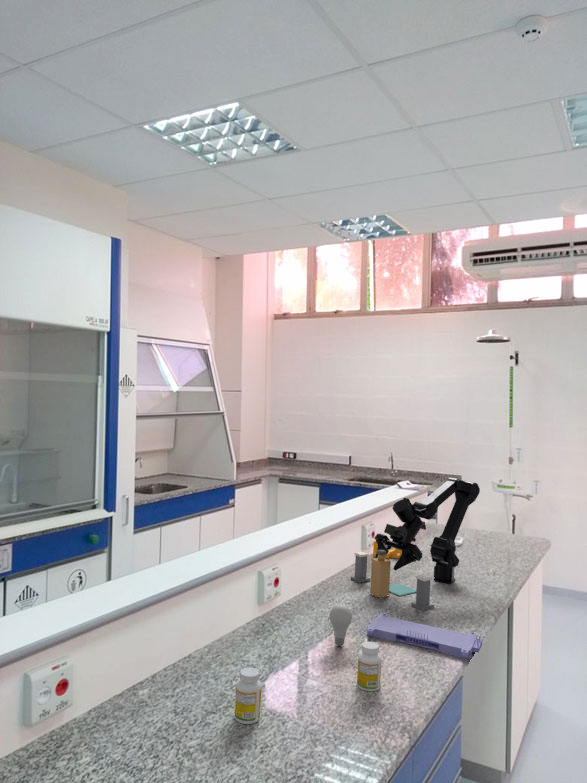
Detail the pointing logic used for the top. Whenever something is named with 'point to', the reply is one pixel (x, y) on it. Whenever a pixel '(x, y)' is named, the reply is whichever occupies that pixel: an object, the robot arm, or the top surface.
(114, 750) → the top surface
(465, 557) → the top surface
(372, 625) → the computer part
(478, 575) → the top surface
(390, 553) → the pipe clamp
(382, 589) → the bottle
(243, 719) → the supplement bottle
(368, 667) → the supplement bottle
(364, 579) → the post right
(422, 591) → the post
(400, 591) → the mat
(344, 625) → the lightbulb
